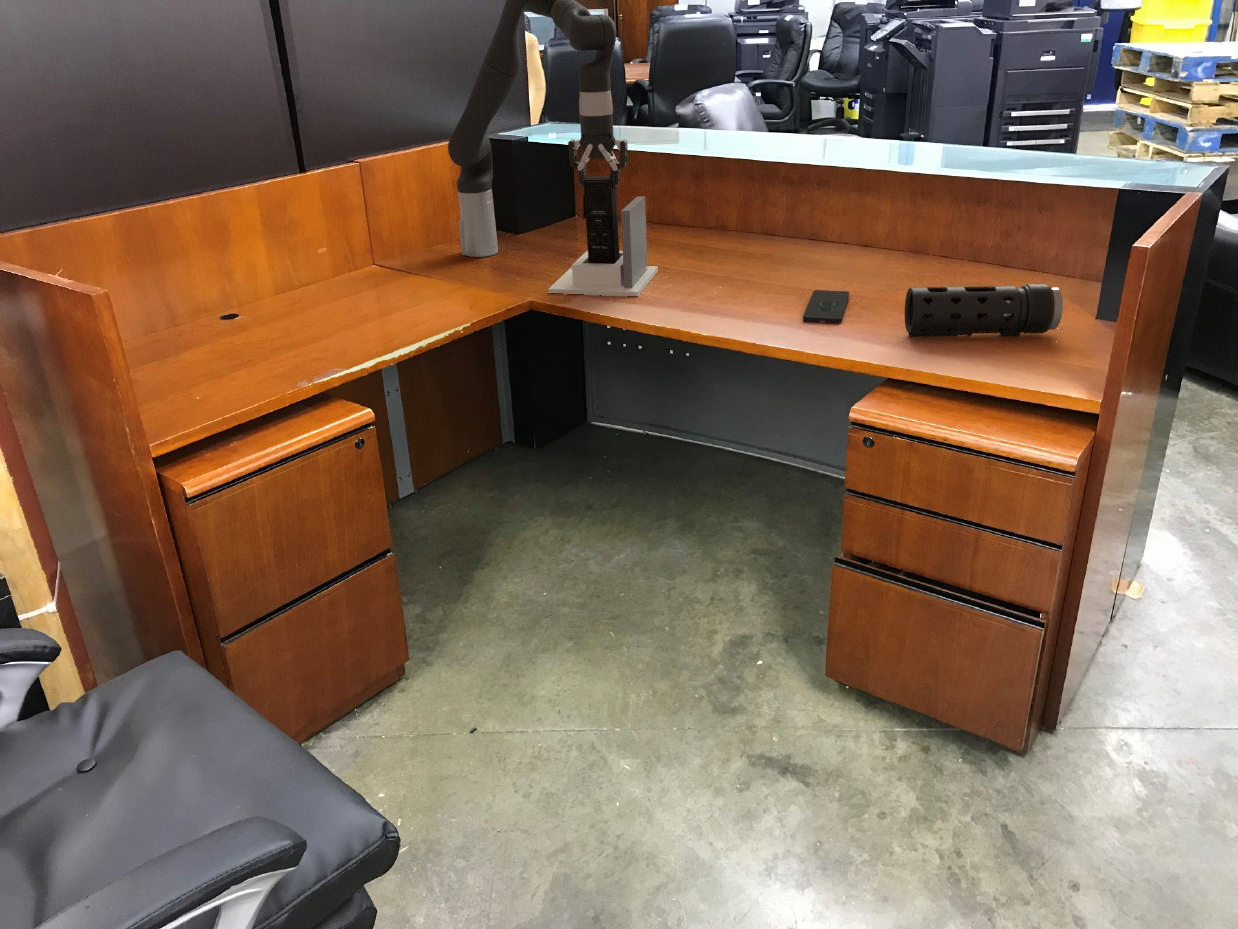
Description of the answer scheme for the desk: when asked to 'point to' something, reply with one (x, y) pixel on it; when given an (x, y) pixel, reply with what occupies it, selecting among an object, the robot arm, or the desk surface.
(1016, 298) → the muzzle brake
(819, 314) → the smart home device
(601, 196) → the portable radio
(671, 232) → the desk surface
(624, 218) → the docking stand
